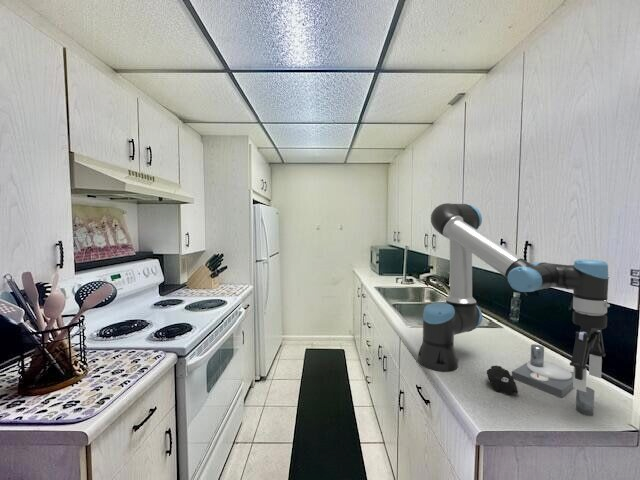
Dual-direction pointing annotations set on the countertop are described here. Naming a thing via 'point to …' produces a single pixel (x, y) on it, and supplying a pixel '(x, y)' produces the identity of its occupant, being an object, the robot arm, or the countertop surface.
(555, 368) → the scale
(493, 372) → the rock
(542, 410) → the countertop surface
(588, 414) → the cylinder
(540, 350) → the cylinder
